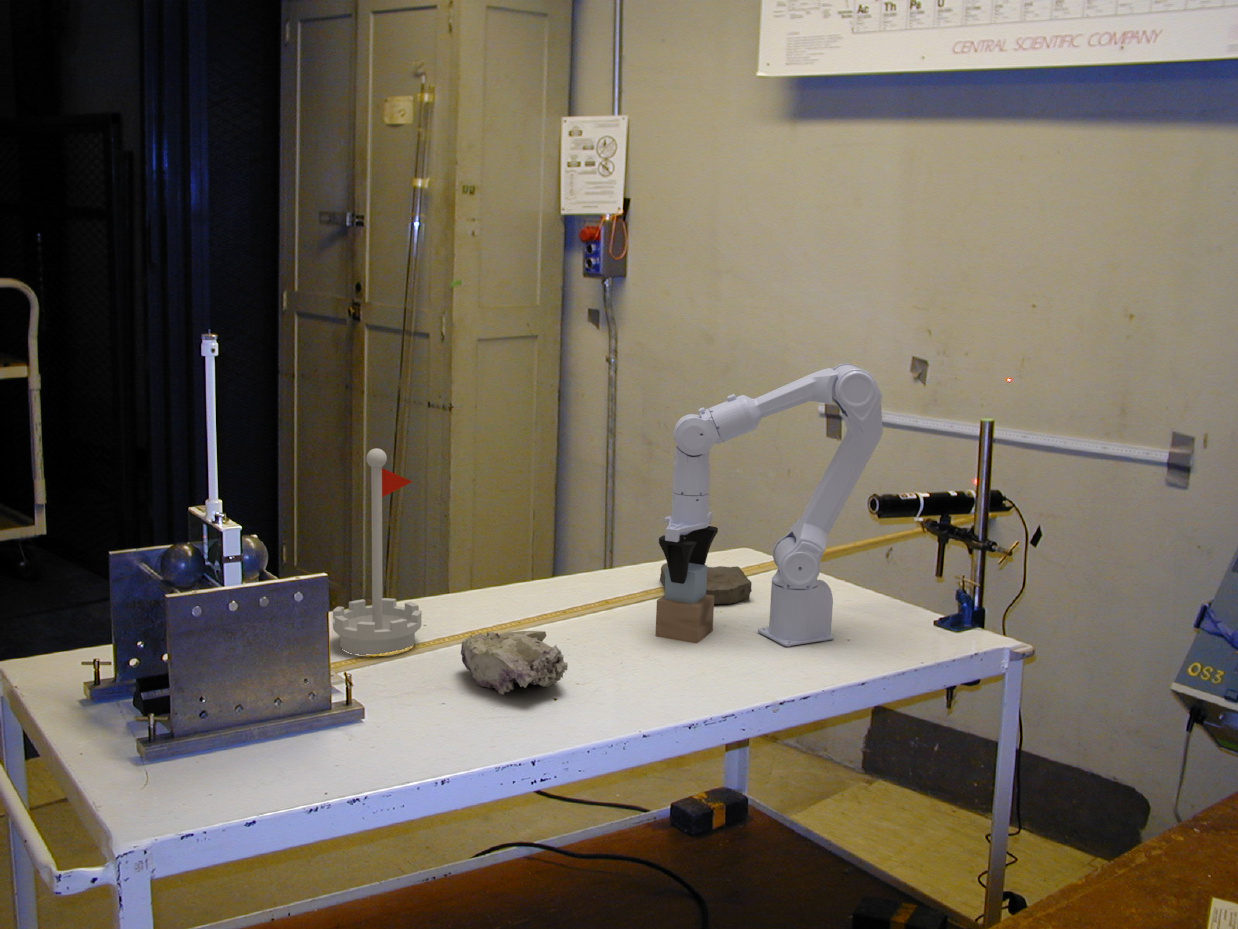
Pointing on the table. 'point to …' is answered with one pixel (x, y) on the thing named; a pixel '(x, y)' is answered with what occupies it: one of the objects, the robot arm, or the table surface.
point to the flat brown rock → (723, 584)
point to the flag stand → (377, 586)
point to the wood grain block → (684, 619)
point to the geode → (512, 660)
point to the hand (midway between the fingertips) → (687, 576)
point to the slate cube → (688, 585)
